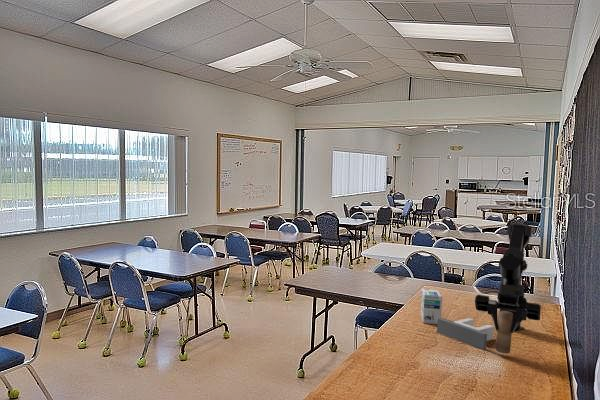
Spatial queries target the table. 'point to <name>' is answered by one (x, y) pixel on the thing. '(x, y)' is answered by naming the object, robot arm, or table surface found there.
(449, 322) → the backstop wall
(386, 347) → the table surface
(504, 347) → the dowel
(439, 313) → the light bulb box
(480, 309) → the robot arm
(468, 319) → the socket block
